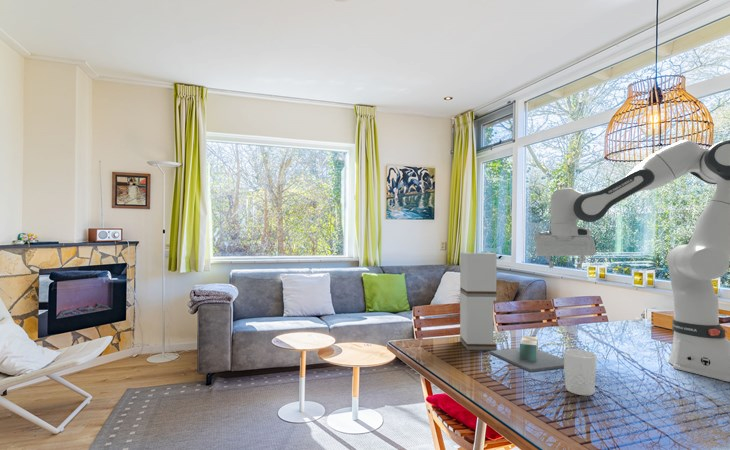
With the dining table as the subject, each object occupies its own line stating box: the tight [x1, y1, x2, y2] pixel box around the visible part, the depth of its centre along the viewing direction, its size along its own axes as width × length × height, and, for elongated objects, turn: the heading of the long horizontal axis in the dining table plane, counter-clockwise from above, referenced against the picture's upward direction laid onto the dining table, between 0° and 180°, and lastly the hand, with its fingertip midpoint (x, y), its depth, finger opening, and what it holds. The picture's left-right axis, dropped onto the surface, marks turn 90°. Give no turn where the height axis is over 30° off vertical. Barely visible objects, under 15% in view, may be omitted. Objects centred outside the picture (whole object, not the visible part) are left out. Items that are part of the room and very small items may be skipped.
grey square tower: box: [459, 251, 498, 351], centre depth 150 cm, size 11×11×35 cm
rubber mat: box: [489, 347, 564, 373], centre depth 133 cm, size 20×18×1 cm
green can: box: [519, 335, 539, 361], centre depth 135 cm, size 5×5×12 cm
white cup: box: [562, 348, 597, 396], centre depth 106 cm, size 8×8×10 cm
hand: (565, 268), depth 149 cm, fingers open, 8 cm apart
